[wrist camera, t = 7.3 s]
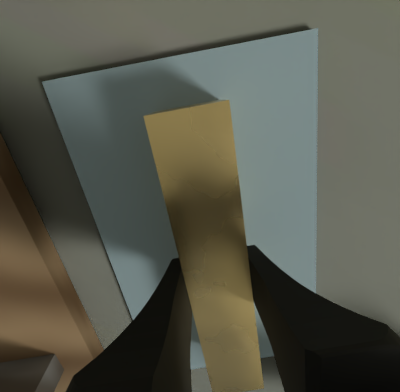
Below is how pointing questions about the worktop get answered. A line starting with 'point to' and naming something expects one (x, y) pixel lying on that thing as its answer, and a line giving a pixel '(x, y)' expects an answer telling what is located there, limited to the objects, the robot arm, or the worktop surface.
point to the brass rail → (210, 236)
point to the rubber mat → (244, 146)
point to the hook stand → (36, 298)
